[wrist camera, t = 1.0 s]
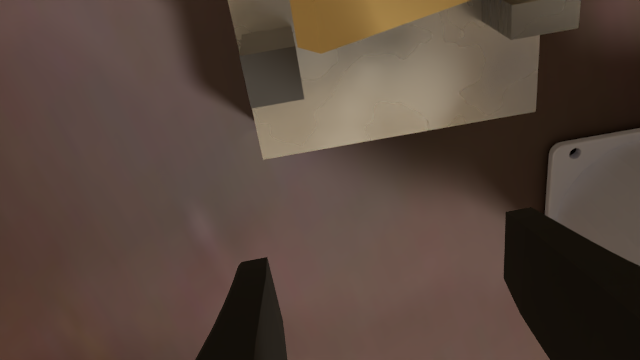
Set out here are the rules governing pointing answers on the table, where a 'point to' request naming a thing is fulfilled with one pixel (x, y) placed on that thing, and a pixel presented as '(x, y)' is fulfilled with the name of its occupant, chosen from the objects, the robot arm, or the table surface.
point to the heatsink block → (408, 73)
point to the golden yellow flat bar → (355, 19)
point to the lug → (271, 67)
